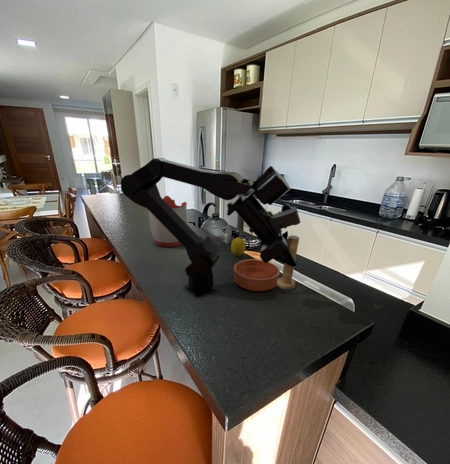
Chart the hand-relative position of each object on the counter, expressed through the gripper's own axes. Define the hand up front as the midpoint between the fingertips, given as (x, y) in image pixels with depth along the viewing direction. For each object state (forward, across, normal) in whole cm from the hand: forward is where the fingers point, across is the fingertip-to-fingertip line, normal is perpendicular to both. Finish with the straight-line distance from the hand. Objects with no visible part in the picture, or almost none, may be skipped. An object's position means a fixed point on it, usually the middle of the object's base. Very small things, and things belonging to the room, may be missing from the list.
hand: (294, 263), depth 64 cm
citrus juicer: (-26, +35, +44) cm, 61 cm away
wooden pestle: (+4, 0, +6) cm, 7 cm away
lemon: (-4, +28, +22) cm, 36 cm away
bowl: (+2, +10, +16) cm, 19 cm away
